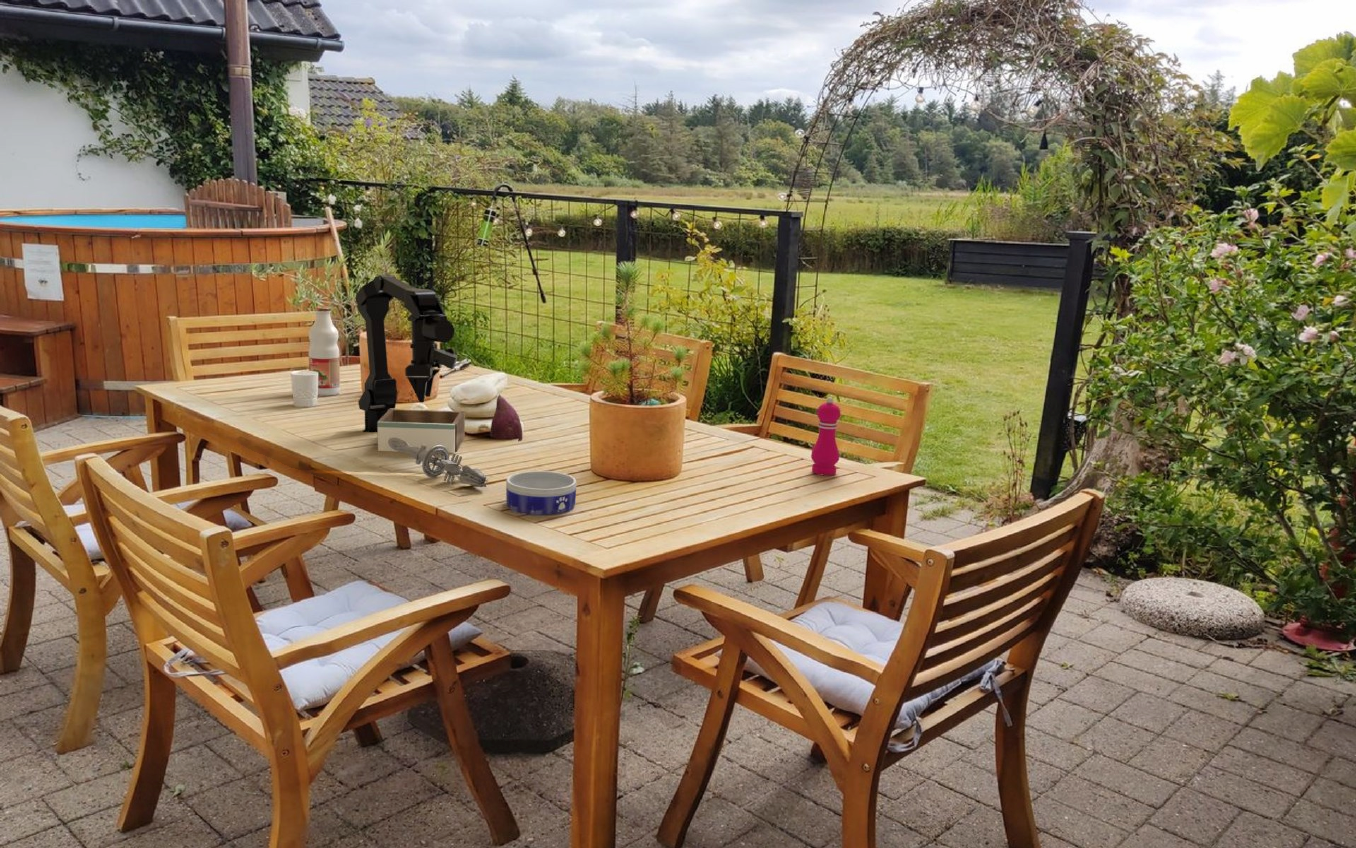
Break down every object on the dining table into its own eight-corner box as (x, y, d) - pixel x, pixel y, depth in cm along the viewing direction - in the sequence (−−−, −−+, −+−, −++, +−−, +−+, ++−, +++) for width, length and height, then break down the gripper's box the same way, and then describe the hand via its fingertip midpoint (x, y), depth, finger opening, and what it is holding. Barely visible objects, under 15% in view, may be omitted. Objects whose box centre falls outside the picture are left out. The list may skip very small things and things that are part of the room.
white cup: (324, 405, 317) (323, 373, 314) (303, 408, 310) (302, 376, 308) (307, 401, 321) (306, 369, 319) (286, 404, 314) (285, 372, 312)
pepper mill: (820, 477, 263) (826, 400, 258) (804, 470, 269) (810, 395, 264) (843, 475, 266) (850, 399, 262) (827, 468, 272) (833, 393, 268)
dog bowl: (546, 492, 238) (546, 466, 237) (589, 507, 228) (590, 481, 226) (491, 503, 227) (492, 477, 226) (535, 520, 217) (536, 493, 216)
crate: (377, 452, 265) (377, 421, 263) (390, 437, 280) (389, 409, 278) (456, 454, 266) (456, 424, 265) (464, 440, 282) (464, 411, 280)
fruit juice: (344, 394, 333) (342, 308, 327) (315, 397, 328) (312, 309, 322) (334, 389, 340) (332, 305, 334) (305, 391, 335) (303, 305, 329)
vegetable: (485, 448, 285) (471, 402, 283) (505, 438, 293) (492, 393, 290) (511, 445, 281) (498, 398, 278) (531, 435, 288) (518, 389, 286)
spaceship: (405, 429, 257) (382, 421, 251) (503, 470, 238) (480, 463, 231) (394, 458, 257) (370, 452, 250) (491, 502, 238) (467, 496, 231)
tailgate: (377, 451, 263) (377, 422, 261) (379, 449, 264) (378, 421, 262) (454, 453, 264) (454, 424, 263) (454, 452, 266) (454, 423, 264)
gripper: (449, 343, 256) (450, 405, 259) (460, 336, 275) (461, 394, 277) (403, 343, 256) (405, 405, 258) (417, 335, 274) (419, 393, 277)
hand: (424, 399), depth 268 cm, fingers open, 9 cm apart
